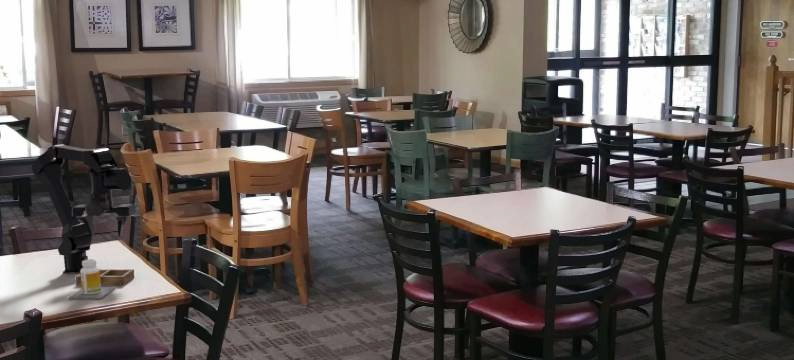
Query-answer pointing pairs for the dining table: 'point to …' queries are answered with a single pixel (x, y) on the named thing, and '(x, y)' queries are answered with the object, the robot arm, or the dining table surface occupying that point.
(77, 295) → the coaster
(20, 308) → the dining table surface
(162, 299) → the dining table surface
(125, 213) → the robot arm
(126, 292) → the dining table surface
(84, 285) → the supplement bottle
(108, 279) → the brown two-compartment frame
